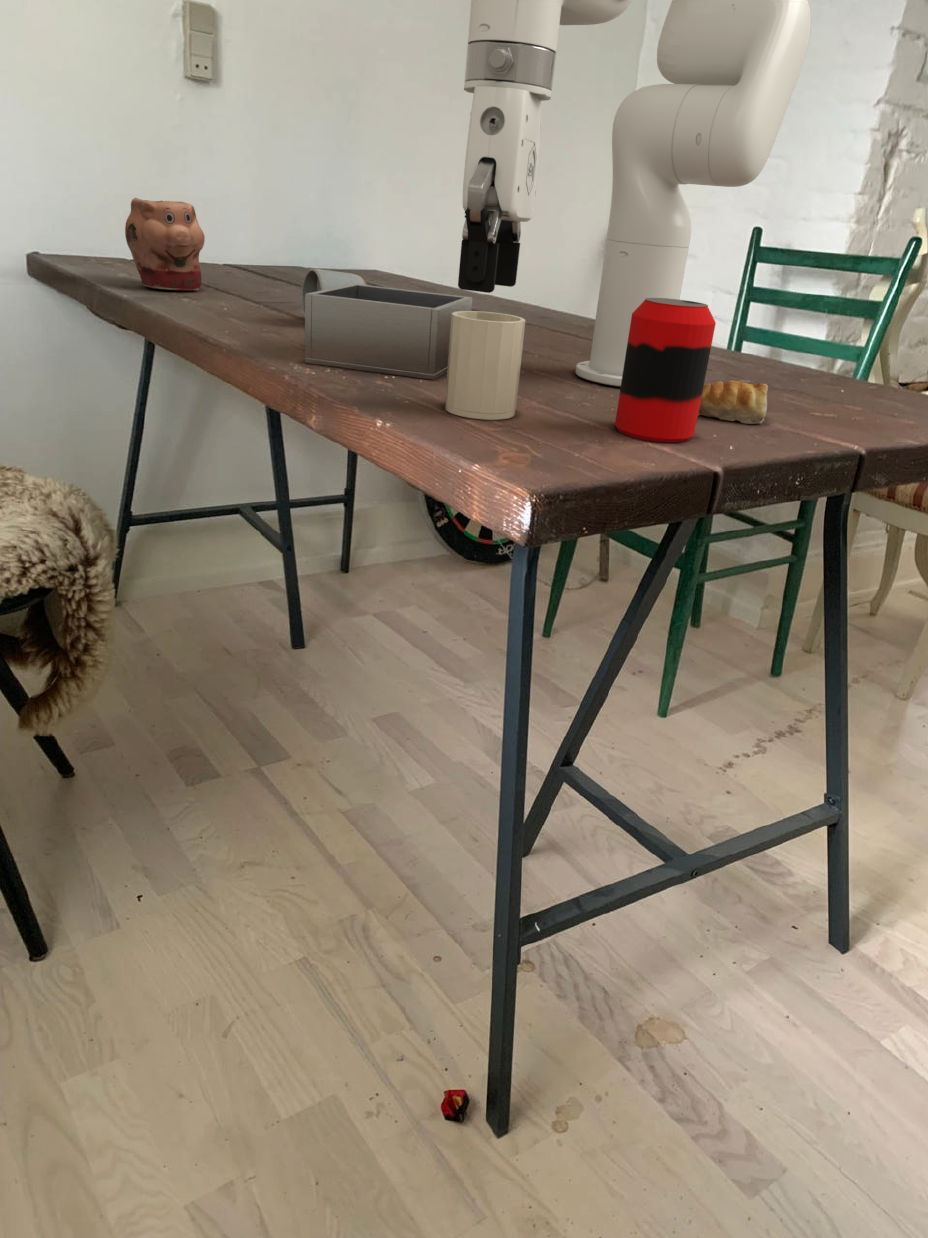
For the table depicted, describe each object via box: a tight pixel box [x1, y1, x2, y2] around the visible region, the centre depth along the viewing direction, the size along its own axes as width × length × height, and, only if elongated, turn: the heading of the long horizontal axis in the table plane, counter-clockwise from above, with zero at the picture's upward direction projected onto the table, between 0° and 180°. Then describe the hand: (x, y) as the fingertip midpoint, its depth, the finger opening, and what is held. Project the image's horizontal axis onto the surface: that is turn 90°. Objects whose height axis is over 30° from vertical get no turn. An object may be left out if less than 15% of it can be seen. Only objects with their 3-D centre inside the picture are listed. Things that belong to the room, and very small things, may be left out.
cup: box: [444, 310, 526, 421], centre depth 88 cm, size 7×7×9 cm
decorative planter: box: [124, 197, 206, 291], centre depth 153 cm, size 20×12×14 cm, turn 40°
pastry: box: [698, 379, 769, 425], centre depth 97 cm, size 9×7×4 cm
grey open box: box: [304, 284, 473, 381], centre depth 108 cm, size 16×16×8 cm
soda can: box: [614, 298, 717, 444], centre depth 85 cm, size 8×8×12 cm
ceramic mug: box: [300, 268, 368, 318], centre depth 132 cm, size 11×8×8 cm
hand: (487, 287), depth 84 cm, fingers open, 9 cm apart
